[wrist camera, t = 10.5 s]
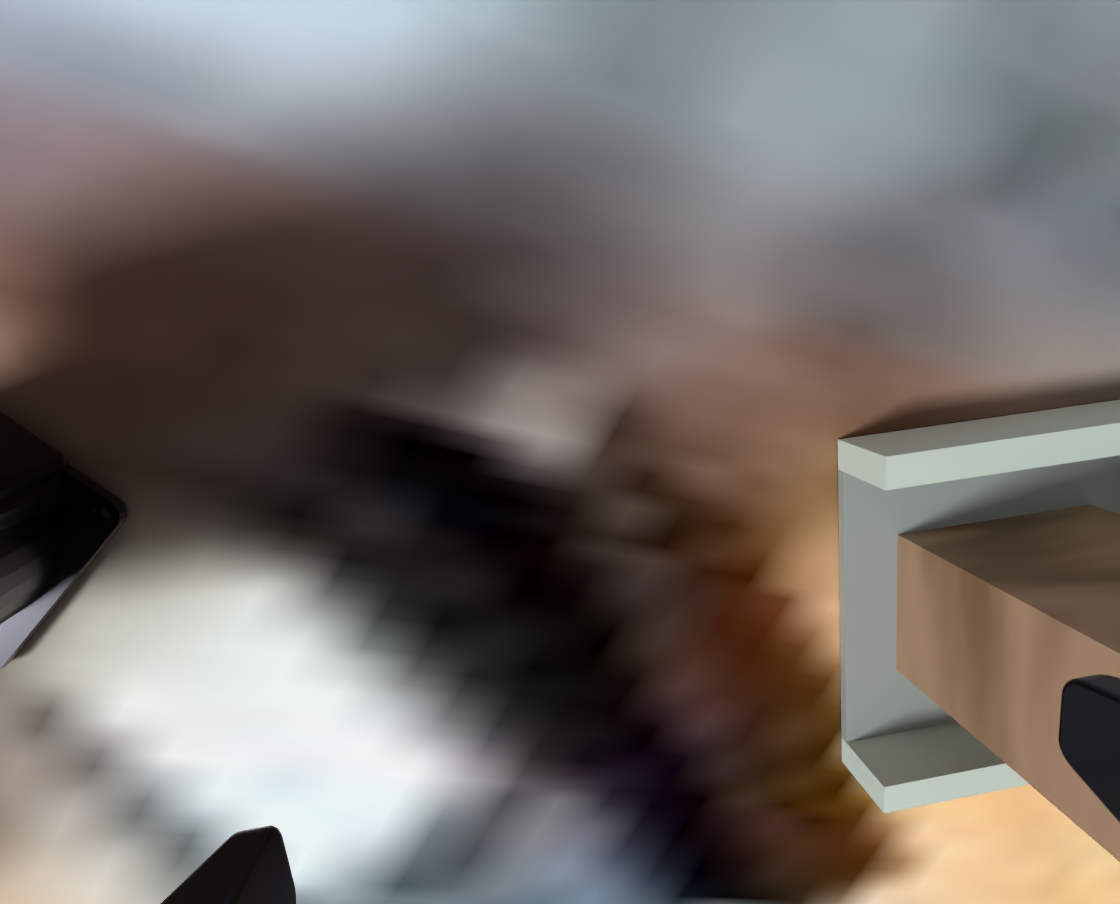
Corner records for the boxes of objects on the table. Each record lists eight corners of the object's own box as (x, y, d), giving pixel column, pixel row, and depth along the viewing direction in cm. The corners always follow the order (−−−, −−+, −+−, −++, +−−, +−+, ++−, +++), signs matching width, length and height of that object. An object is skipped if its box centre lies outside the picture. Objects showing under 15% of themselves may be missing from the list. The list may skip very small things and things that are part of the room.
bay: (841, 761, 23) (884, 813, 21) (837, 439, 21) (885, 456, 18) (1140, 704, 25) (1212, 747, 22) (1173, 391, 22) (1261, 402, 19)
